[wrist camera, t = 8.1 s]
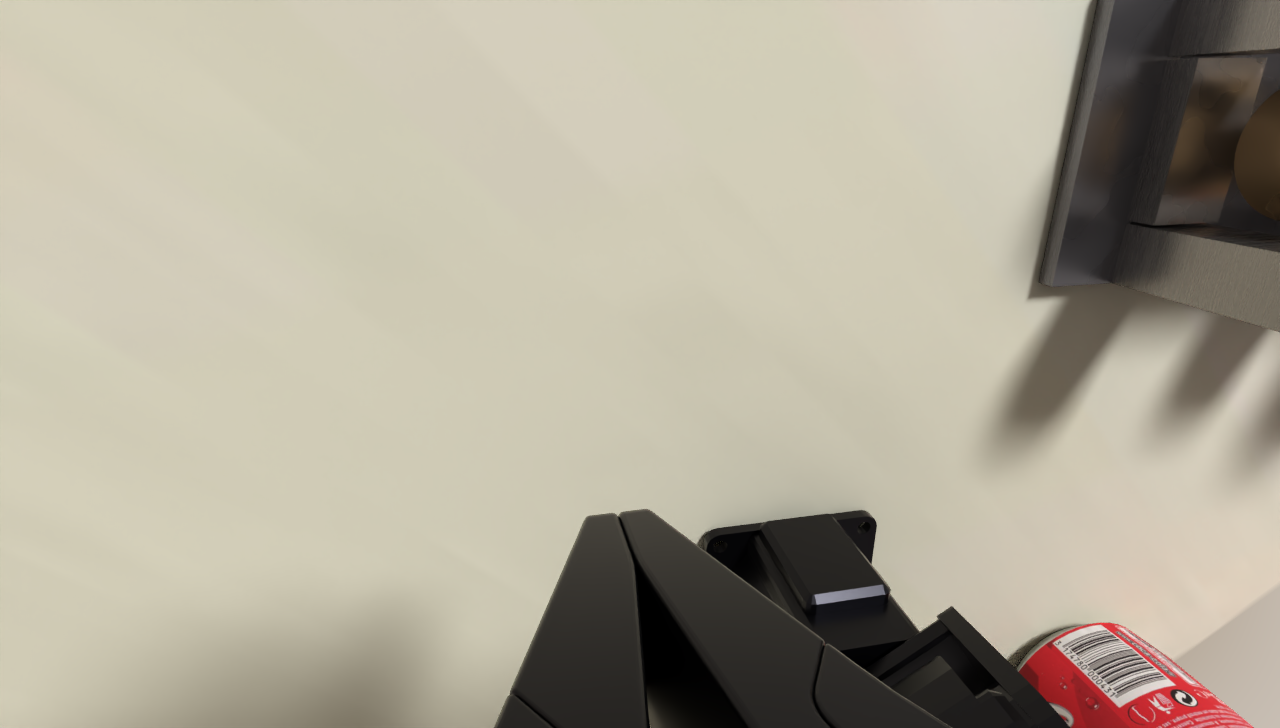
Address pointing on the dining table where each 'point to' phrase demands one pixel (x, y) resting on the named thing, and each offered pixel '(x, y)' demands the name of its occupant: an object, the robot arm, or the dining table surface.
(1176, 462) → the dining table surface
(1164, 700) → the soda can
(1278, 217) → the tube
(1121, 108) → the grey holder rack
